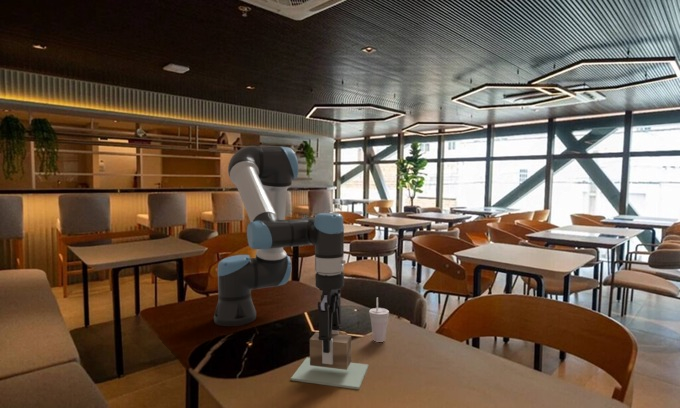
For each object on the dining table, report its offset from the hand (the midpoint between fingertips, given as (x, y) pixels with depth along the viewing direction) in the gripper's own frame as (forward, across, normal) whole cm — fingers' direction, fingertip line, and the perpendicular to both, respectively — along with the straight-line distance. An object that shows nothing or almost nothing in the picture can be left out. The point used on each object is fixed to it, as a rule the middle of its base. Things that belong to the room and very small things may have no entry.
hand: (330, 358), depth 103 cm
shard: (+5, +22, +3) cm, 23 cm away
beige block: (+1, 0, 0) cm, 1 cm away
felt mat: (+4, 0, 0) cm, 4 cm away
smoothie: (+4, +24, -9) cm, 26 cm away
